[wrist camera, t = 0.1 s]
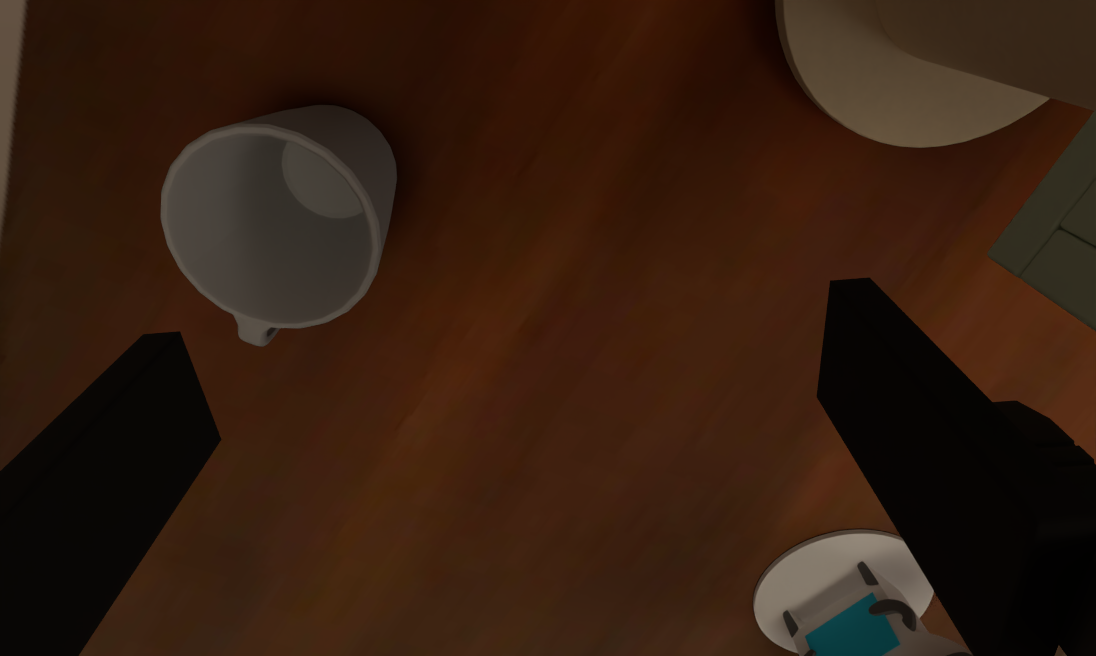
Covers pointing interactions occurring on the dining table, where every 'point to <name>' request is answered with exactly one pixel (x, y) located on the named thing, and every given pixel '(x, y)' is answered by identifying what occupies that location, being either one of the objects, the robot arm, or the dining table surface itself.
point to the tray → (967, 103)
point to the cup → (282, 216)
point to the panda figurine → (849, 599)
